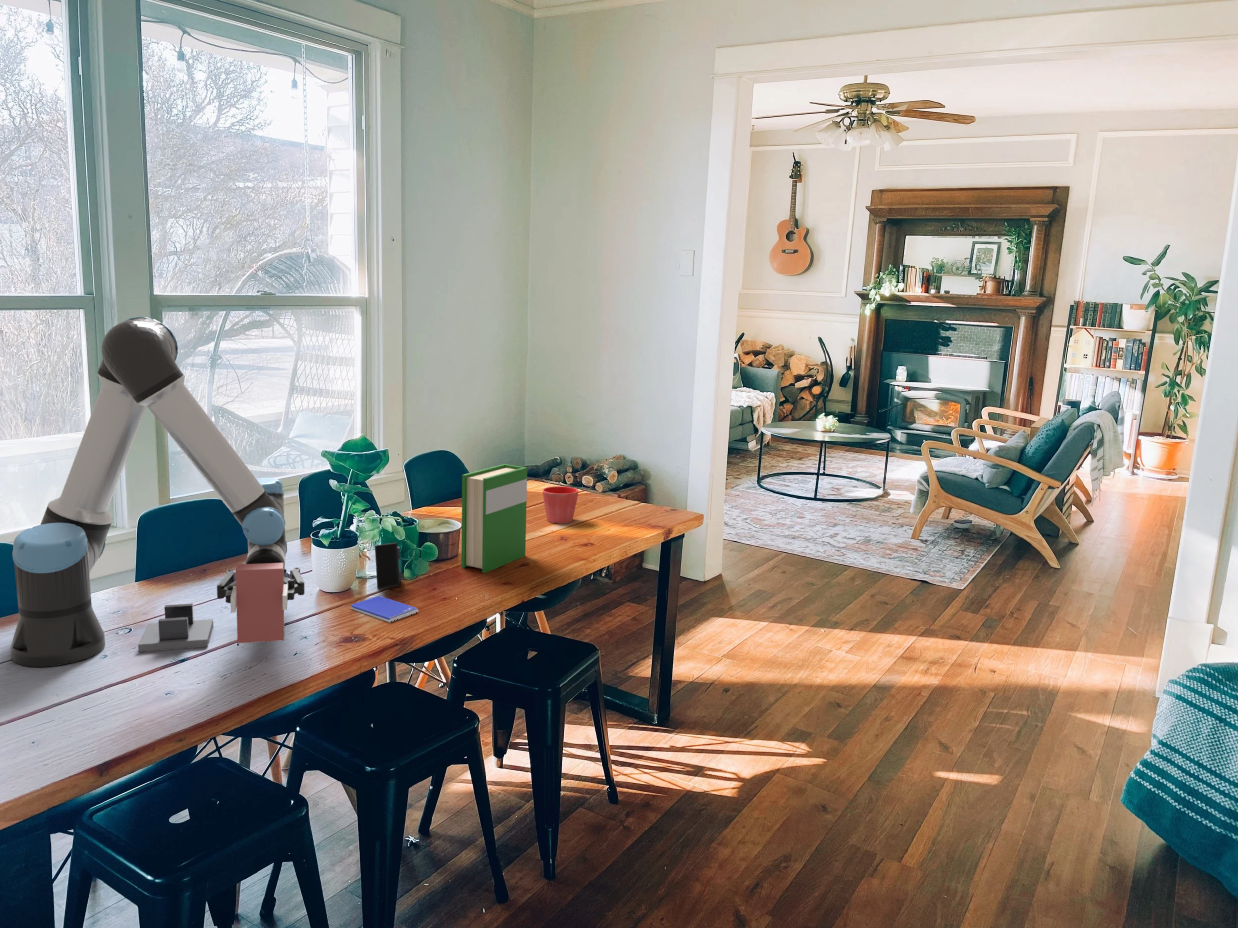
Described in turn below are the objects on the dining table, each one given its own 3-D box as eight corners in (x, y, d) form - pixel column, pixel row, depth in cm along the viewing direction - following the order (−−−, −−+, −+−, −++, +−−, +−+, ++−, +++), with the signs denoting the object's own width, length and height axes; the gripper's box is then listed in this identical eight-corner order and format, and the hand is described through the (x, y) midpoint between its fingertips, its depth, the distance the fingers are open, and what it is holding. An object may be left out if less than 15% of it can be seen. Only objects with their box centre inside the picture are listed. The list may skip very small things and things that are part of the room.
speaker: (402, 587, 216) (400, 544, 214) (377, 589, 214) (374, 545, 213) (402, 580, 223) (400, 538, 222) (378, 582, 222) (375, 539, 220)
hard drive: (418, 607, 201) (379, 594, 208) (389, 617, 195) (350, 604, 201) (418, 614, 201) (379, 601, 208) (389, 624, 195) (350, 611, 202)
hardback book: (485, 572, 230) (486, 478, 225) (461, 567, 233) (462, 474, 228) (525, 555, 245) (527, 467, 240) (502, 551, 248) (504, 463, 243)
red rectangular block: (237, 643, 169) (235, 570, 166) (238, 636, 172) (237, 564, 170) (283, 640, 172) (282, 568, 169) (284, 633, 175) (283, 562, 172)
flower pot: (541, 515, 286) (541, 485, 284) (576, 516, 287) (577, 486, 286) (542, 524, 276) (542, 493, 274) (578, 525, 277) (579, 493, 275)
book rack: (138, 651, 175) (136, 624, 174) (148, 630, 185) (146, 604, 184) (207, 646, 179) (206, 619, 177) (213, 625, 189) (212, 600, 188)
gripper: (319, 580, 191) (319, 620, 170) (209, 585, 185) (196, 627, 163) (319, 546, 190) (319, 581, 168) (208, 549, 183) (195, 586, 162)
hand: (259, 603), depth 166 cm, fingers closed on red rectangular block, 8 cm apart
